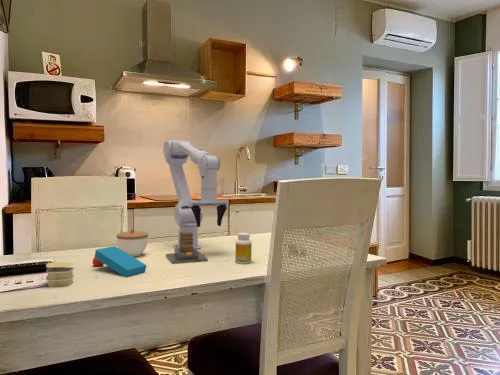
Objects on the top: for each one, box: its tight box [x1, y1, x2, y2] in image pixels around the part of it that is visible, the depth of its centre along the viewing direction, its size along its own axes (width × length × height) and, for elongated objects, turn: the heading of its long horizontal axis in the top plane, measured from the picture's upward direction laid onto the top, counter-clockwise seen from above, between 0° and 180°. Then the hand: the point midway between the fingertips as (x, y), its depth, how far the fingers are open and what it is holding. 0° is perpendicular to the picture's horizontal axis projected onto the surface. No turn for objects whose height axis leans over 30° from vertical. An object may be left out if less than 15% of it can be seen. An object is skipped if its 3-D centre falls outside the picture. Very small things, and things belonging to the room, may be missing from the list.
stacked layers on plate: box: [45, 261, 75, 288], centre depth 108 cm, size 10×9×6 cm
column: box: [180, 232, 193, 252], centre depth 139 cm, size 4×4×7 cm
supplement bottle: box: [234, 232, 253, 265], centre depth 135 cm, size 5×5×10 cm
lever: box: [92, 245, 147, 278], centre depth 123 cm, size 7×7×19 cm
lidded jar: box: [116, 228, 149, 258], centre depth 143 cm, size 11×11×9 cm
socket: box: [165, 247, 209, 265], centre depth 139 cm, size 12×12×3 cm
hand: (208, 226), depth 146 cm, fingers open, 7 cm apart
